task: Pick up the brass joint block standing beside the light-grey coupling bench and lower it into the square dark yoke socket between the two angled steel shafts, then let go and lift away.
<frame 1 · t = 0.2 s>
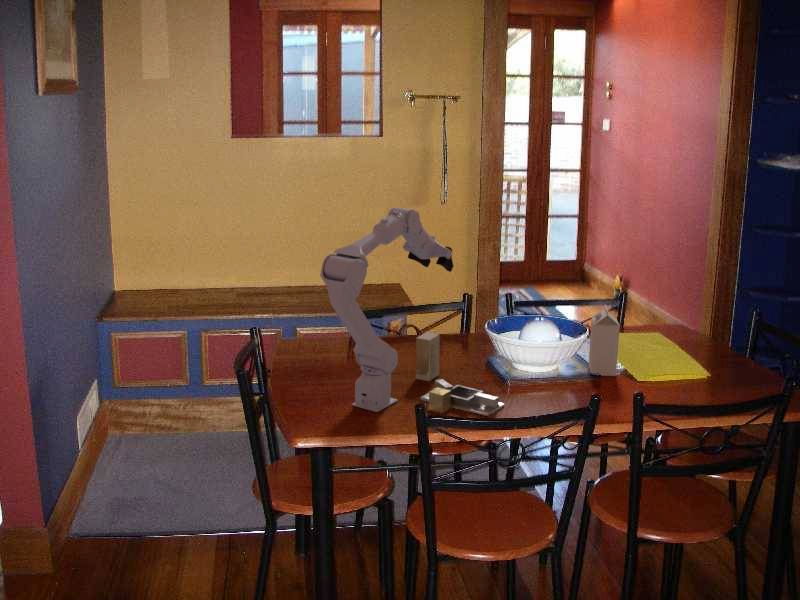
hand: (439, 266, 257), 31 cm above the table, tool tilted 45°, fingers open, 7 cm apart
milk carton: (601, 372, 268), on the table
skincare box: (427, 377, 263), on the table
joint block: (439, 409, 240), on the table
coupling bench: (462, 403, 244), on the table
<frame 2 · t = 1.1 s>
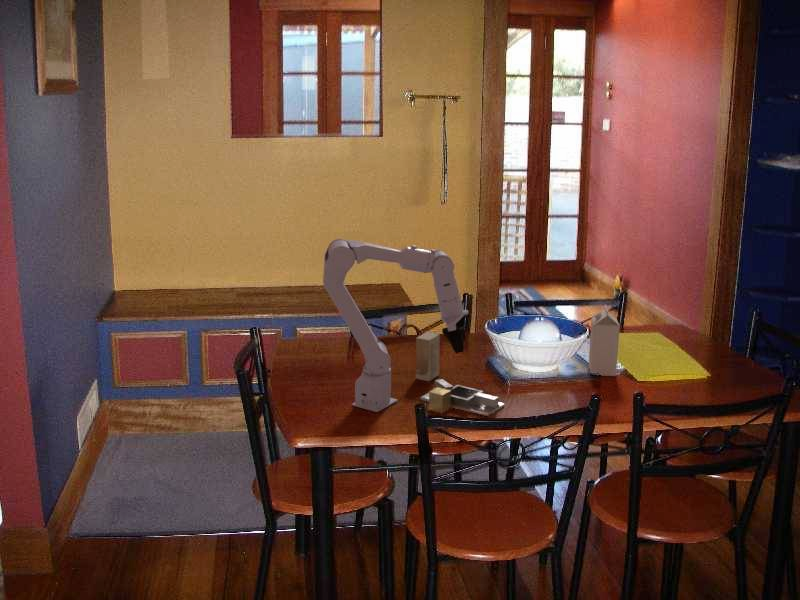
hand: (460, 346, 242), 15 cm above the table, tool pointing down, fingers open, 7 cm apart
nothing on the table moved.
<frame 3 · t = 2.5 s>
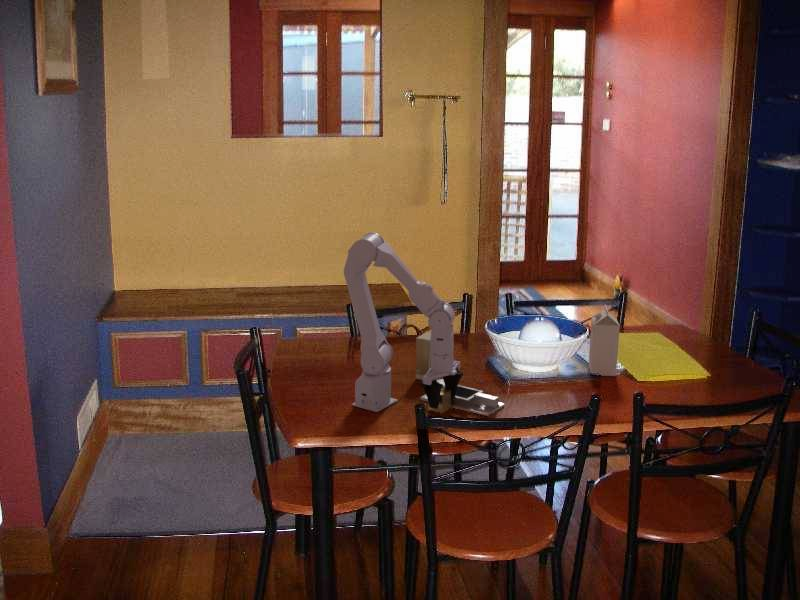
hand: (442, 403, 239), 2 cm above the table, tool pointing down, fingers open, 7 cm apart
nothing on the table moved.
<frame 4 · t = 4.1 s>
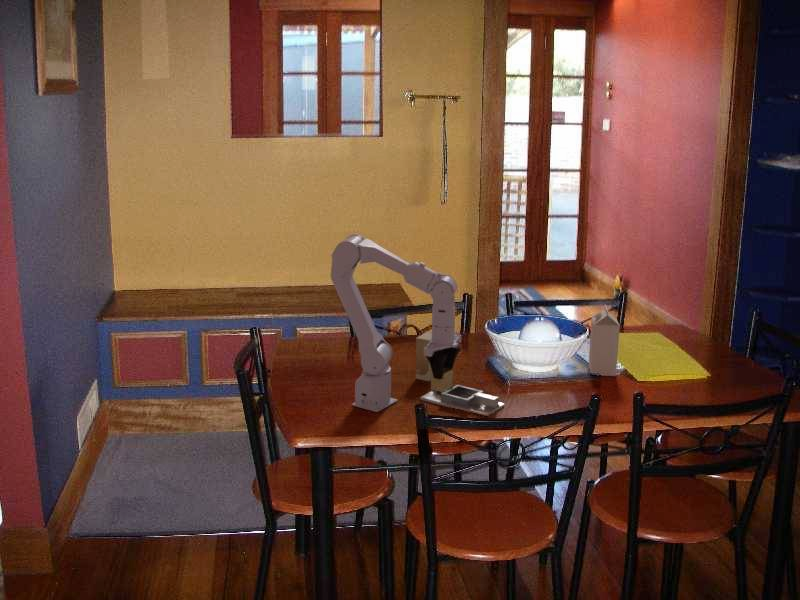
hand: (442, 375, 238), 9 cm above the table, tool pointing down, fingers closed on joint block, 4 cm apart
joint block: (441, 388, 239), point 6 cm above the table, touching gripper
everything else where it was.
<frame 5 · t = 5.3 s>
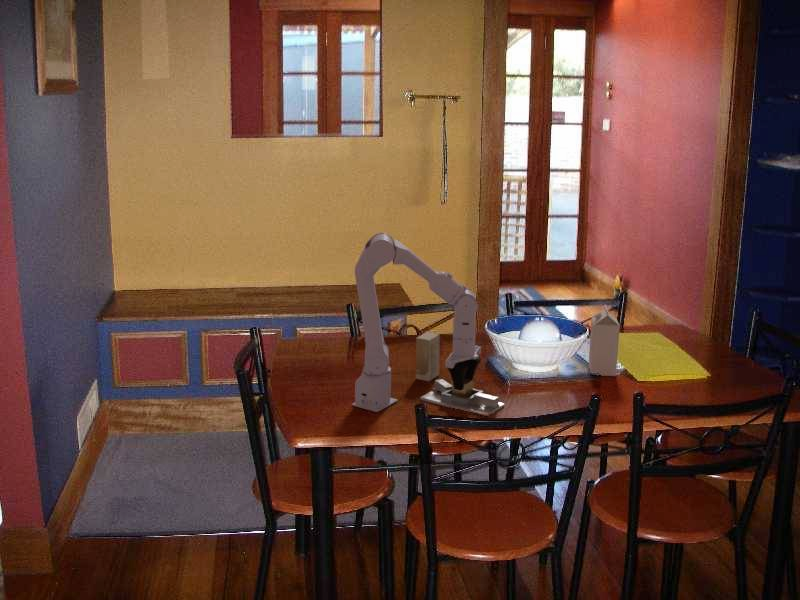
hand: (462, 386, 243), 5 cm above the table, tool pointing down, fingers closed on joint block, 4 cm apart
joint block: (462, 399, 244), point 1 cm above the table, touching gripper
everything else where it was.
when the fingers open (3 cm above the table, at t = 5.9 s): joint block stays where it is, resting on coupling bench.
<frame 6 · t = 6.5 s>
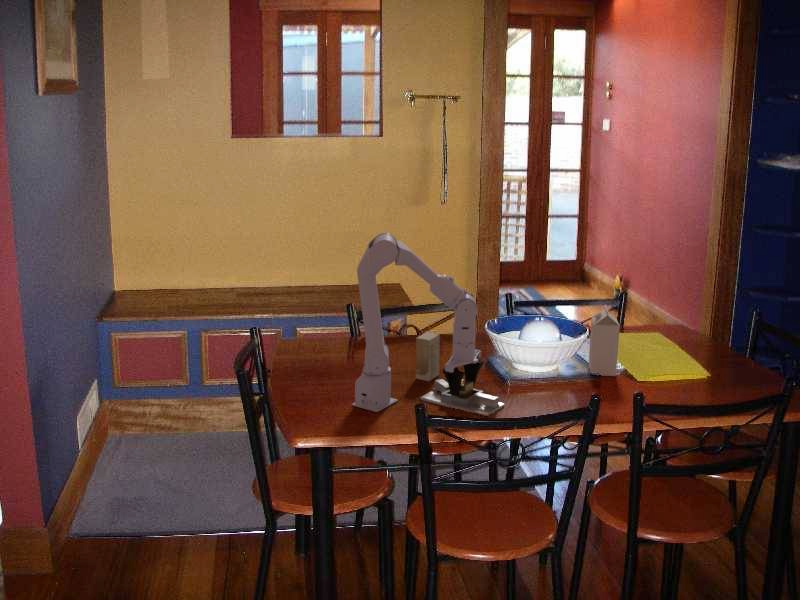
hand: (462, 390, 243), 3 cm above the table, tool pointing down, fingers open, 7 cm apart
joint block: (462, 400, 244), point 1 cm above the table, touching coupling bench
everything else where it was.
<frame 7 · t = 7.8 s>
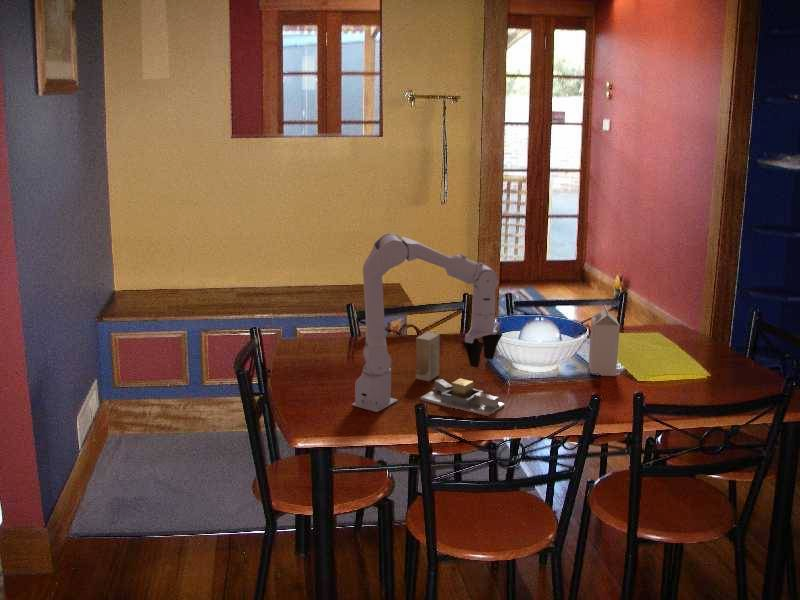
hand: (481, 362, 245), 10 cm above the table, tool pointing down, fingers open, 7 cm apart
nothing on the table moved.
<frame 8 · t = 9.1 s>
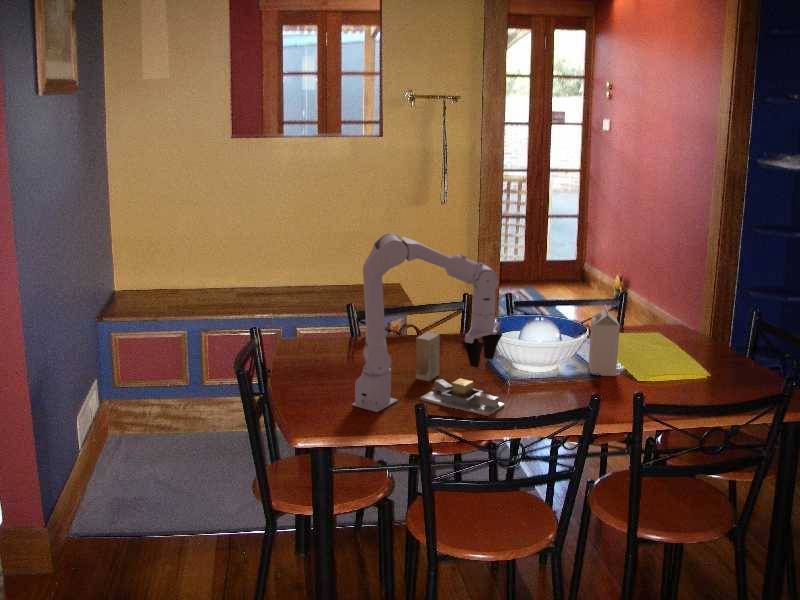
hand: (481, 362, 245), 10 cm above the table, tool pointing down, fingers open, 7 cm apart
nothing on the table moved.
at the end: joint block 0.0 cm off-centre on the coupling bench, point 0.8 cm above the coupling bench's base; joint block tilted 0°; the gripper is holding nothing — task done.
